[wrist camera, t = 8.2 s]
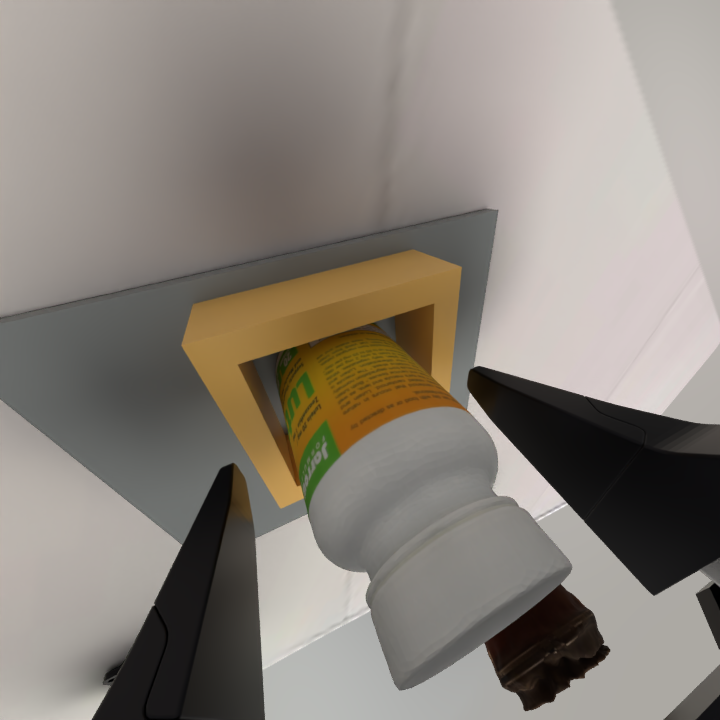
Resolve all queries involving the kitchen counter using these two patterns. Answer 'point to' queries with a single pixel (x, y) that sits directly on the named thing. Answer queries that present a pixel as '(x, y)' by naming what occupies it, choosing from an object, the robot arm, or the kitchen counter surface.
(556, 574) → the supplement bottle
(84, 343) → the slate board
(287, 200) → the kitchen counter surface
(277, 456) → the orange collar
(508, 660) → the coffee cup
